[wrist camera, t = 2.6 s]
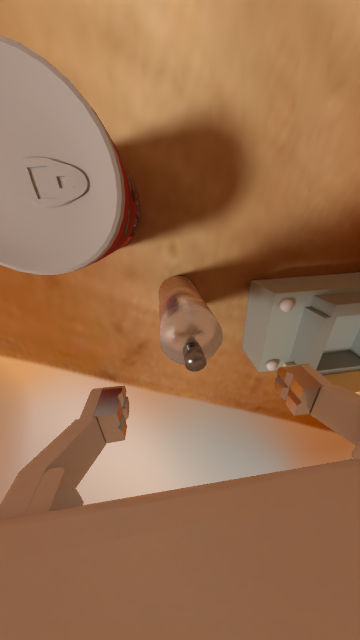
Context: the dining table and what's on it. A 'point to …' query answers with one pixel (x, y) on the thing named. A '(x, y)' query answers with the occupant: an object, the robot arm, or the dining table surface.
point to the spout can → (187, 324)
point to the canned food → (56, 172)
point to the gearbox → (306, 325)
